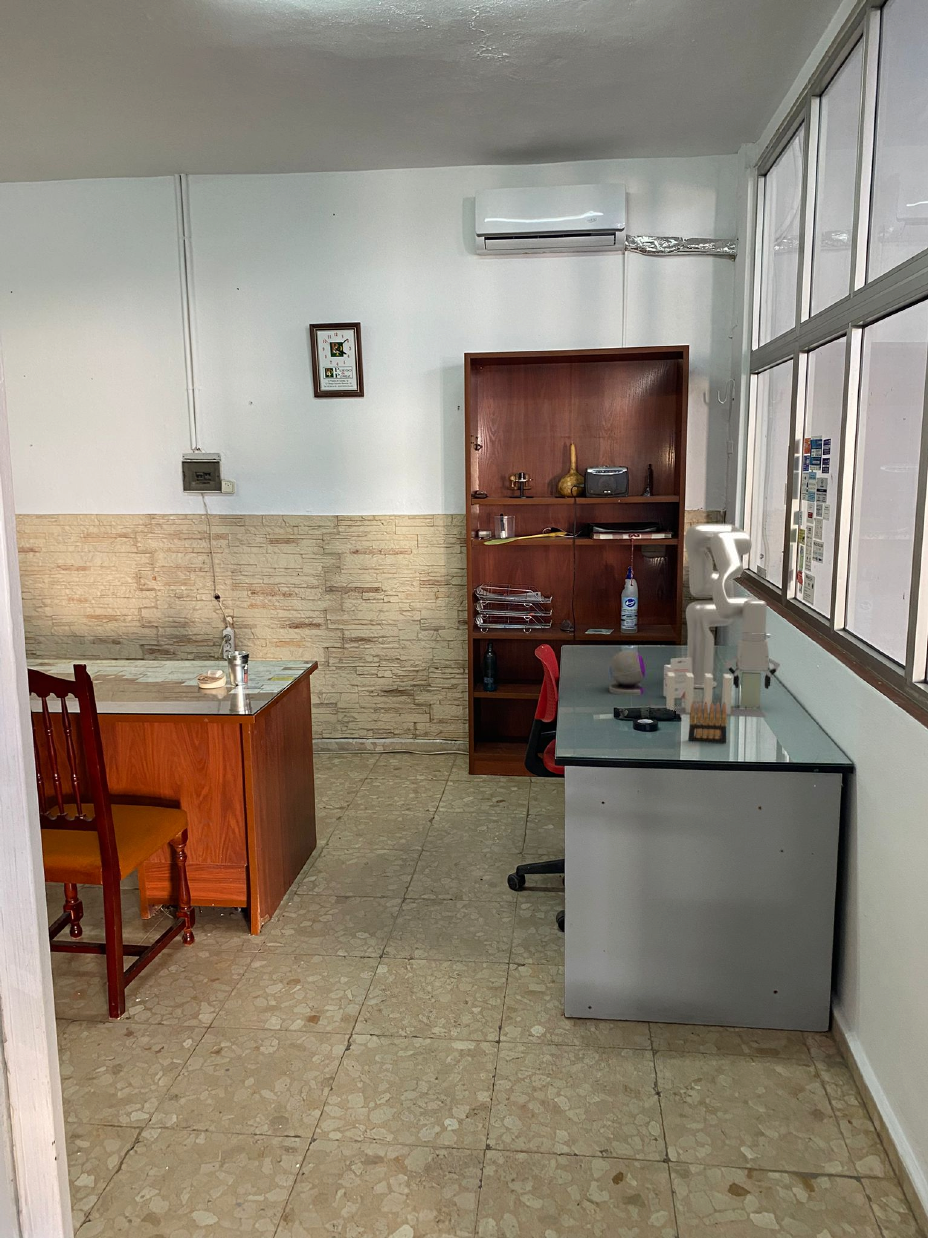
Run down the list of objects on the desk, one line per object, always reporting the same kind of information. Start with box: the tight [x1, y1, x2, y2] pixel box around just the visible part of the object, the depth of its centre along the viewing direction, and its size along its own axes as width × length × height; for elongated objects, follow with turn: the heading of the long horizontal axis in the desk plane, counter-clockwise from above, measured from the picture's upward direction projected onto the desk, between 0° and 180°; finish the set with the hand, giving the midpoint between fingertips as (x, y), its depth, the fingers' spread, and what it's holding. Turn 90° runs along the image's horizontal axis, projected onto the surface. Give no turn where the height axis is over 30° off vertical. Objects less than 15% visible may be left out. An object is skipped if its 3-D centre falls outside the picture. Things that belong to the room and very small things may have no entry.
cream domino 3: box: [702, 673, 714, 713], centre depth 298 cm, size 2×6×12 cm, turn 172°
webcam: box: [608, 649, 647, 696], centre depth 328 cm, size 13×13×15 cm
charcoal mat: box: [650, 705, 767, 718], centre depth 299 cm, size 10×36×1 cm, turn 82°
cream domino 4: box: [721, 673, 733, 714], centre depth 297 cm, size 2×6×12 cm, turn 172°
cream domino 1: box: [665, 672, 675, 711], centre depth 299 cm, size 2×6×12 cm, turn 172°
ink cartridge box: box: [662, 657, 692, 699], centre depth 318 cm, size 9×5×15 cm, turn 105°
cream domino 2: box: [684, 673, 695, 713], centre depth 298 cm, size 2×6×12 cm, turn 172°
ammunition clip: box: [688, 700, 728, 744], centre depth 265 cm, size 11×2×12 cm, turn 80°
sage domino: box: [739, 671, 762, 708], centre depth 304 cm, size 2×6×12 cm, turn 82°
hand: (751, 687), depth 304 cm, fingers open, 9 cm apart
